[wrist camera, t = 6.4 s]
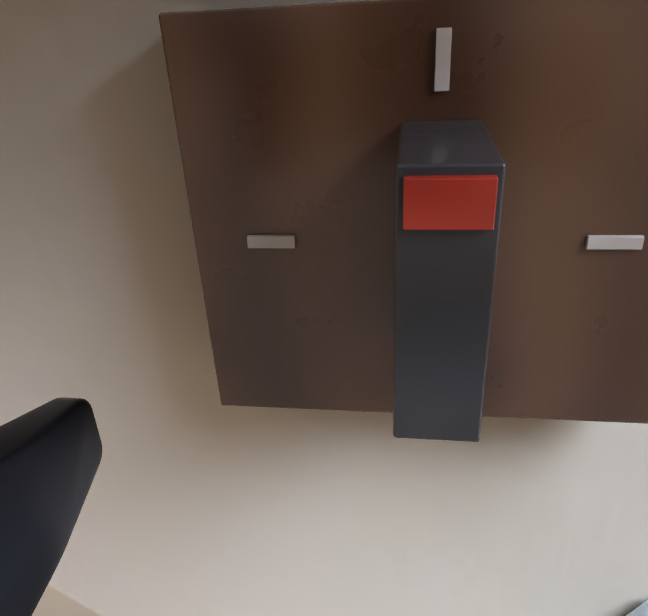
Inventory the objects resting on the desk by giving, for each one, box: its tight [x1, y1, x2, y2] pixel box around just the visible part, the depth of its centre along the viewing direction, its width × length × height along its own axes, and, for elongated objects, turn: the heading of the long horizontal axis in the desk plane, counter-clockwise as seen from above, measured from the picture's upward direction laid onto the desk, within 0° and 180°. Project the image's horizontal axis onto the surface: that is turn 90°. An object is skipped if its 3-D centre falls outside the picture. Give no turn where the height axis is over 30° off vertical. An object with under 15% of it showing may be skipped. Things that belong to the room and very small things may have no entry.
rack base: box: [159, 0, 648, 423], centre depth 18 cm, size 14×12×3 cm
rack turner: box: [393, 120, 506, 442], centre depth 14 cm, size 6×2×5 cm, turn 3°
